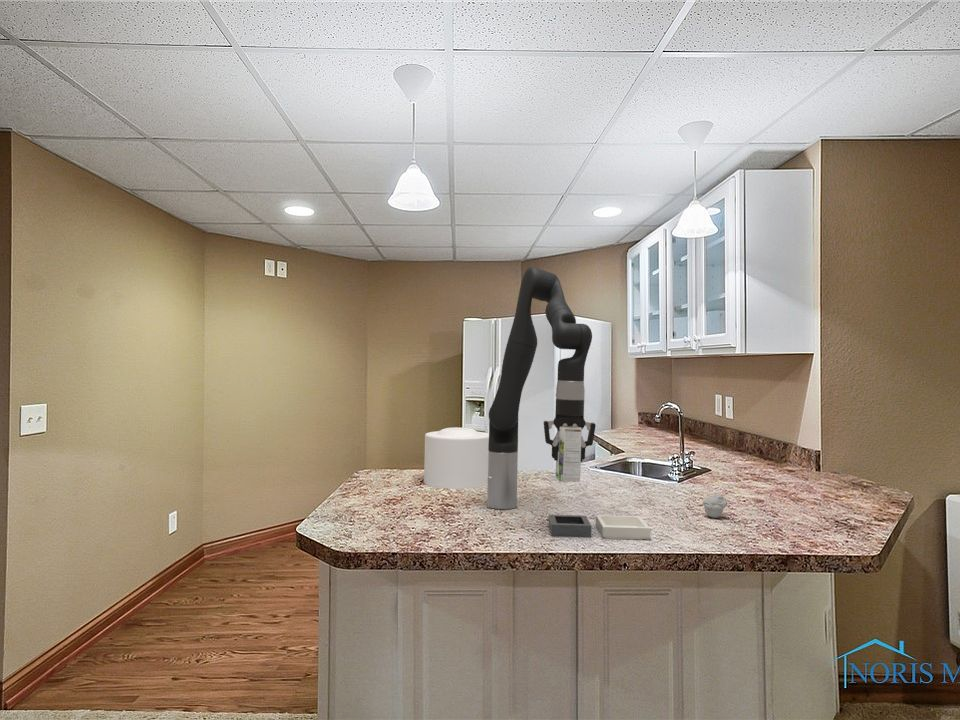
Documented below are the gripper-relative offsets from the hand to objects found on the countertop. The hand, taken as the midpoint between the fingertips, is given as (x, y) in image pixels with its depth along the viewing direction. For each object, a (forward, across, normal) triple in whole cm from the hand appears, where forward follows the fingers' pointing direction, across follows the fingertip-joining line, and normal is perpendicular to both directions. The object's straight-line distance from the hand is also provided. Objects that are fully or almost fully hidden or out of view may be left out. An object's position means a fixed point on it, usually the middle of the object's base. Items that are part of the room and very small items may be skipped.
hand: (568, 460), depth 155 cm
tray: (+19, +15, +1) cm, 24 cm away
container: (+20, -35, +62) cm, 74 cm away
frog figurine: (+18, +46, +20) cm, 53 cm away
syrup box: (+5, 0, 0) cm, 5 cm away
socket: (+19, +1, 0) cm, 19 cm away
